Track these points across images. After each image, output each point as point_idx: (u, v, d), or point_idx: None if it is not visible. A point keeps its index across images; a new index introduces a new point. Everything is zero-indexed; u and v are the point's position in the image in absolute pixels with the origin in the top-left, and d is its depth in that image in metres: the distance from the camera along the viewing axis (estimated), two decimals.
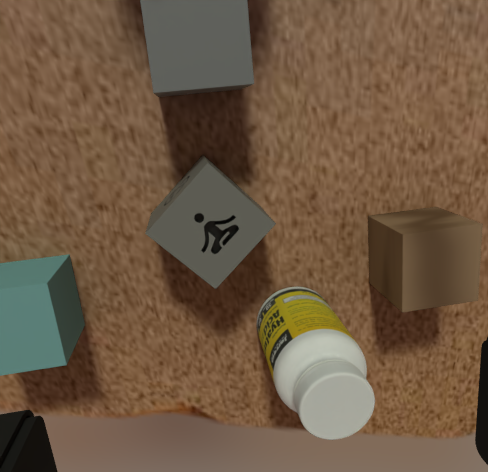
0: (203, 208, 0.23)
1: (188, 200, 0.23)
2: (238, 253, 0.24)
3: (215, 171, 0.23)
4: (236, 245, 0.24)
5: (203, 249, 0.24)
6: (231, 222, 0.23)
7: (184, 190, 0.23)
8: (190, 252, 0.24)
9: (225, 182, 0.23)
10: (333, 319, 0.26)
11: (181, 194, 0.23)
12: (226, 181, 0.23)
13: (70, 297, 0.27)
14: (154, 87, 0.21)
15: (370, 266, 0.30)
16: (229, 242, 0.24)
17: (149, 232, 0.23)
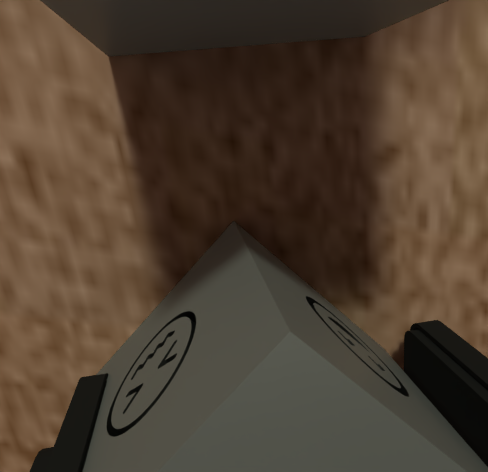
0: None
1: None
2: None
3: (324, 365, 0.05)
4: None
5: None
6: None
7: (176, 455, 0.05)
8: None
9: (366, 407, 0.05)
10: None
11: None
12: (371, 403, 0.05)
13: None
14: None
15: None
16: None
17: None
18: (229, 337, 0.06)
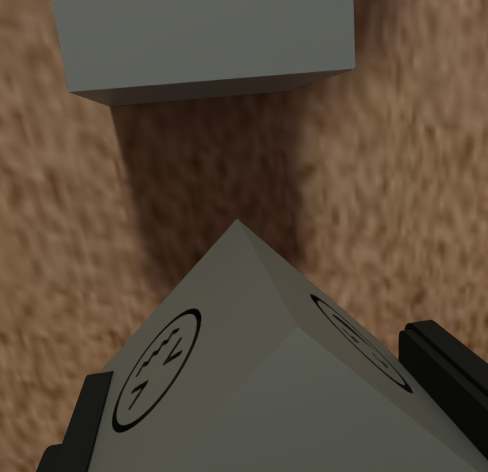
0: None
1: None
2: None
3: (331, 360, 0.05)
4: None
5: None
6: None
7: (183, 450, 0.05)
8: None
9: (372, 403, 0.05)
10: None
11: (169, 469, 0.05)
12: (377, 398, 0.05)
13: None
14: (70, 75, 0.07)
15: None
16: None
17: None
18: (235, 333, 0.06)
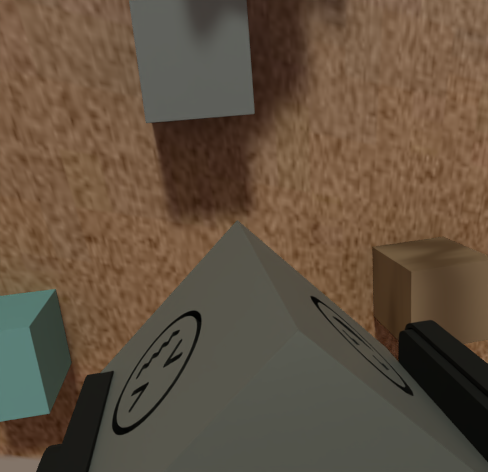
0: None
1: None
2: None
3: (332, 363, 0.05)
4: None
5: None
6: None
7: (184, 453, 0.05)
8: None
9: (373, 406, 0.05)
10: None
11: None
12: (378, 401, 0.05)
13: (55, 336, 0.25)
14: (147, 117, 0.19)
15: (375, 299, 0.29)
16: None
17: None
18: (236, 336, 0.06)
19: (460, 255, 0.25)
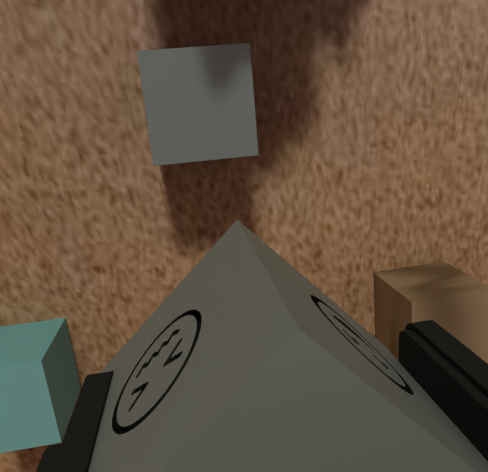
0: None
1: None
2: None
3: (332, 362, 0.05)
4: None
5: None
6: None
7: (184, 452, 0.05)
8: None
9: (373, 404, 0.05)
10: None
11: (170, 471, 0.05)
12: (378, 400, 0.05)
13: (65, 365, 0.26)
14: (154, 160, 0.20)
15: (376, 323, 0.30)
16: None
17: None
18: (236, 335, 0.06)
19: (459, 283, 0.26)
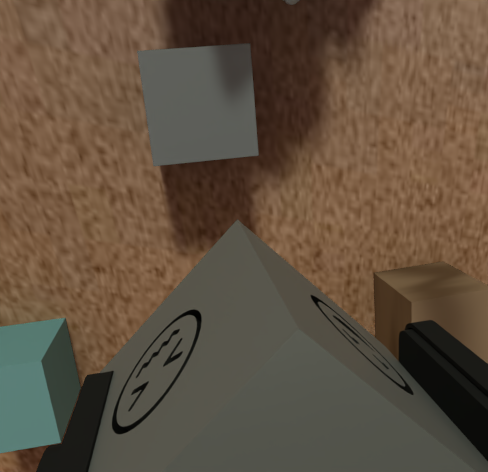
0: None
1: None
2: None
3: (332, 362, 0.05)
4: None
5: None
6: None
7: (184, 452, 0.05)
8: None
9: (373, 404, 0.05)
10: None
11: (170, 471, 0.05)
12: (378, 400, 0.05)
13: (65, 365, 0.25)
14: (154, 160, 0.20)
15: (376, 323, 0.30)
16: None
17: None
18: (236, 335, 0.06)
19: (459, 283, 0.26)
